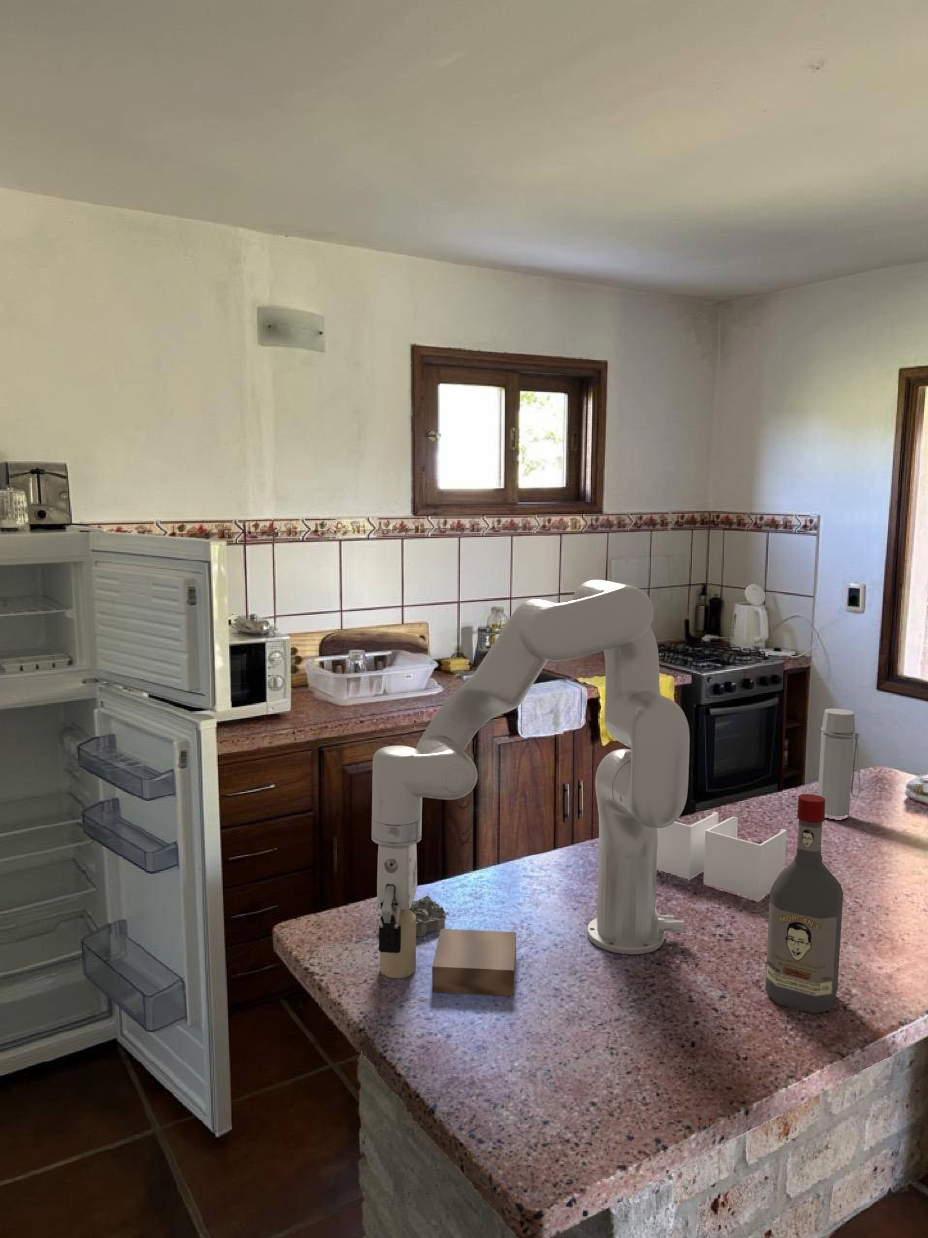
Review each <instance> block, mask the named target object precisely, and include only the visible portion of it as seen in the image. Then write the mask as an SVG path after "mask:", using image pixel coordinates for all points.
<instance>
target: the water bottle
mask: <svg viewBox="0 0 928 1238" xmlns="http://www.w3.org/2000/svg"><path fill="white" fill-rule="evenodd" d="M855 716H856V715H855V711H852V710H850V709H844V708H826V709H824V712H823V717H822V718H823V719H822V723H821V727H820V730H821V731H820V732H821V735H820V751H819V753H820V754H819V768H818V769H819V770H818V784H817V785H818V788H817V795H818V796H821V797H823V798H825V814H827V815H833V816H845V815H849V816H850V808H851V796H852V797H853V798H856V799H857V798H858V799H859V796H860V793H861V778H860V762H859V759H860V758H859V748H858V746H859V745H858V740H859V737H860V733H858V732H856V721H855V719H856V717H855ZM854 739H855V740H854ZM854 741H855V743H854ZM854 746H855V747H854ZM856 759H857V776H858V777H857V778H858V779H857V781H858V789H857V794H856V795H854V793H853V791H854V790H853V789H854V780H855V779H854V777H855V766H856Z"/></svg>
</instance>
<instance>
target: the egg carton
mask: <svg viewBox="0 0 928 1238" xmlns="http://www.w3.org/2000/svg"><path fill="white" fill-rule="evenodd" d="M410 910H411V911H412V912H413V913H414V914H415V915H416V937H425V936H426V935H427V933H428V932H429V931H430V932H431V931H435V930H436V932H440V931H441V929H444V928H443V927H445V926H446V919H447V916H450V914H449V912H446V911H445V909H444V907H443V906H440V904H439V903H437V902H436V901H433V899H432V898H431V897H430V896H429V895H425V896H423V897H422V898H420V899H418V900H413V902H412V905H411V908H410ZM380 916H381V911H380V912H379V913H378V914H377V917H378V918H380Z"/></svg>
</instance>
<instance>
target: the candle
mask: <svg viewBox="0 0 928 1238" xmlns="http://www.w3.org/2000/svg"><path fill="white" fill-rule="evenodd" d="M394 906H398V905H394ZM392 915H394V917H395V916H396V912H393V911H392ZM380 917H381V916H380ZM380 917H379V918H380ZM399 926H401V950H400V952H399V953H387V952H380V951H379V967H380V968H379V969H380V970H379V971H380V973H381V974H382V975H383V976H384V975H385V977H386V978H390V979H404V978H407V977H410V976H412V975H413V974H414V973H415V972H416V969H417V966H416V965H417V936H416V915H415V914H414V913H413V912H412V911H411V910H408V911H405V910H401V912H400V921H399Z"/></svg>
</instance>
